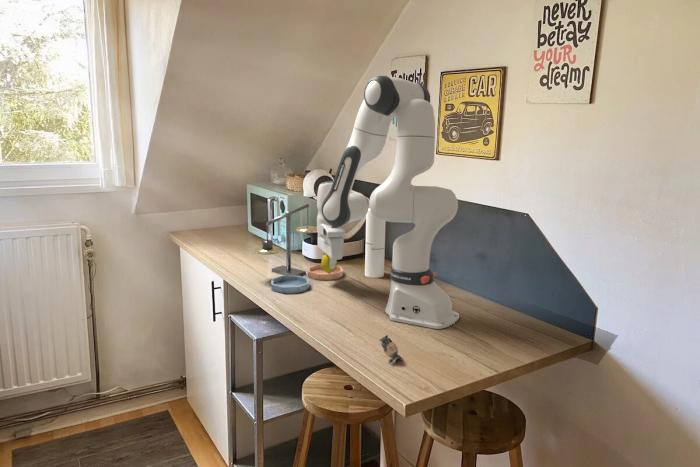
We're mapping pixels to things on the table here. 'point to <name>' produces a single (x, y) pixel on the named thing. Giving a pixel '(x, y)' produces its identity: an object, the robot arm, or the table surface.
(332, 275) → the terracotta dish
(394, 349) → the grey brown knobbly figurine
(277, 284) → the blue dish
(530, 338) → the table surface
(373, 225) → the cylindrical container
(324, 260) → the lemon
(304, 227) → the balance
